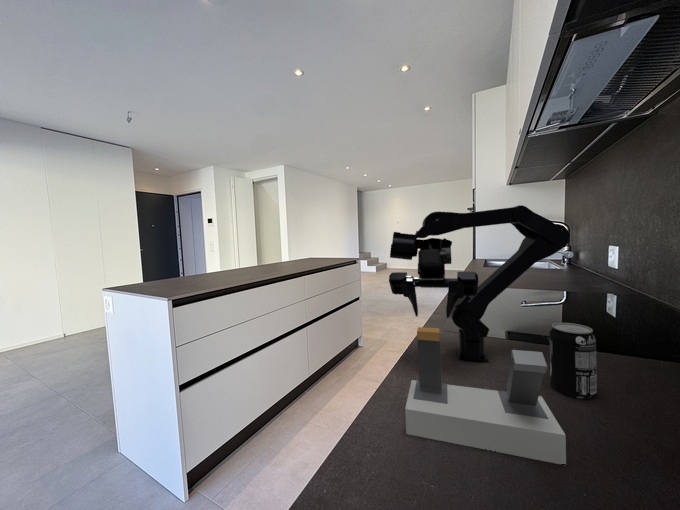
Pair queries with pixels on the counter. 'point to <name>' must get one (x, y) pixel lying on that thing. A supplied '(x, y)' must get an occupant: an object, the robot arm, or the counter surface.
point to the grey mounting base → (485, 421)
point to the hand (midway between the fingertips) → (431, 316)
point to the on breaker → (525, 377)
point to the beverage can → (573, 360)
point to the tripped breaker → (429, 358)
